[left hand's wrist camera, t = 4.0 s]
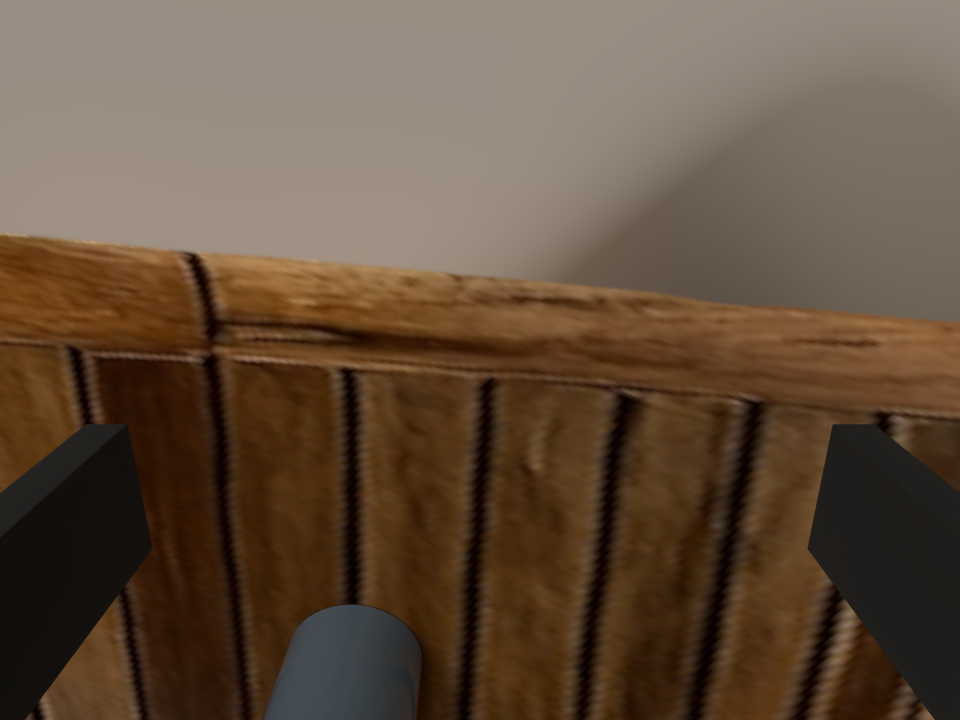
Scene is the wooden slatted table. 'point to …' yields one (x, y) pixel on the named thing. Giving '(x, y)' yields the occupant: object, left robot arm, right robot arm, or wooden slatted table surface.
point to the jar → (348, 668)
